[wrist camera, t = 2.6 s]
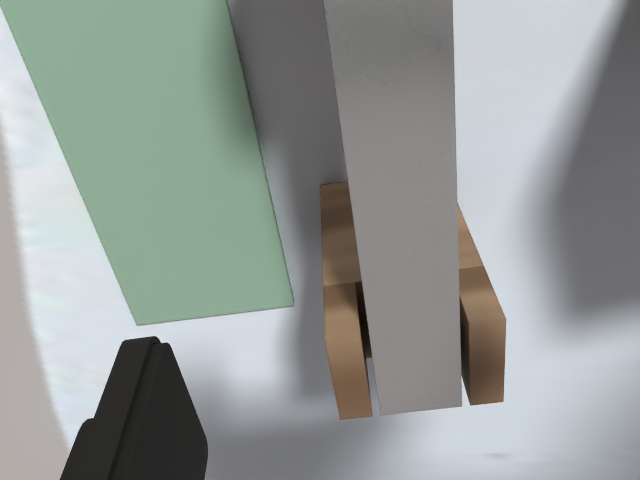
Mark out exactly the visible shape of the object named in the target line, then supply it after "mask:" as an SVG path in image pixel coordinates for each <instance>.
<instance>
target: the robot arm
mask: <svg viewBox="0 0 640 480" xmlns="http://www.w3.org/2000/svg"><path fill="white" fill-rule="evenodd" d="M207 458H208V445H207V440H206V436H205V434H204V431H203V428H202V426H201V423H200V421H199V418H198V416H197V413H196V410H195V408H194V405H193V403H192V400H191V397H190V395H189V392H188V390H187V387H186V384H185V382H184V379H183V377H182V374H181V372H180V369H179V366H178V364H177V361H176V359H175V356H174V353H173V351H172V348H171V346H170V344H169V343H161V342H160V340H159V339H158V338H157V337H156V336H152V337H145V338H137V339H130V340H125V341H123V342H122V344H121V346H120V348H119V351H118V354H117V356H116V359H115V362H114V365H113V367H112V370H111V373H110V375H109V378H108V381H107V383H106V386H105V389H104V392H103V394H102V397H101V400H100V402H99V405H98V408H97V411H96V413H95V416H94V418H91V419H87V420H86V421H85V422H84V423H83V424H82V426H81V428H80V430H79V432H78V434H77V437H76V439H75V442H74V444H73V447H72V449H71V452H70V455H69V457H68V460H67V462H66V465H65V468H64V470H63V473H62V475H61V478H60V480H204V478H205V472H206V465H207Z"/></svg>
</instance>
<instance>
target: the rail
mask: <svg viewBox="0 0 640 480" xmlns="http://www.w3.org/2000/svg"><path fill="white" fill-rule="evenodd" d="M323 2H324V10H325V17H326V24H327V31H328V39H329V46H330V53H331V60H332V68H333V75H334V82H335V89H336V97H337V104H338V111H339V118H340V126H341V133H342V140H343V147H344V155H345V162H346V169H347V176H348V184H349V191H350V198H351V205H352V213H353V220H354V227H355V234H356V242H357V249H358V256H359V263H360V271H361V278H362V285H363V292H364V299H365V307H366V314H367V321H368V328H369V336H370V343H371V350H372V357H373V365H374V372H375V379H376V386H377V394H378V401H379V408H380V415H388V414H397V413H406V412H415V411H425V410H434V409H443V408H452V407H461V406H462V384H461V342H460V299H459V256H458V213H457V170H456V127H455V84H454V42H453V0H323Z"/></svg>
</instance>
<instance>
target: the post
mask: <svg viewBox="0 0 640 480" xmlns="http://www.w3.org/2000/svg"><path fill="white" fill-rule="evenodd" d="M320 194H321V227H322V260H323V293H324V326H325V344H326V349H327V354H328V359H329V365H330V370H331V375H332V380H333V385H334V390H335V395H336V400H337V405H338V411H339V416H340V420H343V419H352V418H361V417H370V416H372V408H371V399H370V390H369V381H368V371H367V362H366V358H371V357H372V350H371V343H370V336H369V328H368V321H367V314H366V307H365V299H364V292H363V285H362V278H361V271H360V263H359V256H358V249H357V242H356V234H355V227H354V220H353V213H352V205H351V198H350V191H349V184H348V181H347V182H340V183H332V184H325V185H320ZM457 213H458V256H459V299H460V342H461V375H462V378H463V382H464V385H465V389H466V392H467V396H468V399H469V403H470V405H479V404H488V403H497V402H503V398H504V368H505V339H506V318H505V316H504V313H503V311H502V308H501V306H500V304H499V301H498V299H497V296H496V294H495V292H494V289H493V287H492V284H491V282H490V280H489V277H488V275H487V272H486V270H485V268H484V265H483V263H482V260H481V258H480V256H479V253H478V251H477V248H476V246H475V244H474V241H473V239H472V236H471V234H470V232H469V229H468V227H467V224H466V222H465V219H464V217H463V215H462V212H461V210H460V207H459V205H458V203H457Z"/></svg>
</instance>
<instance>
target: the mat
mask: <svg viewBox="0 0 640 480" xmlns="http://www.w3.org/2000/svg"><path fill="white" fill-rule="evenodd" d="M0 7H1V9H2V11H3V14H4V16H5V18H6V21H7V23H8V25H9V28H10V30H11V32H12V35H13V37H14V39H15V42H16V44H17V46H18V49H19V51H20V53H21V56H22V58H23V61H24V63H25V65H26V68H27V70H28V72H29V75H30V77H31V79H32V82H33V84H34V86H35V89H36V91H37V93H38V96H39V98H40V100H41V103H42V105H43V107H44V110H45V112H46V114H47V117H48V119H49V121H50V124H51V126H52V128H53V131H54V133H55V136H56V138H57V140H58V143H59V145H60V147H61V150H62V152H63V154H64V157H65V159H66V161H67V164H68V166H69V168H70V171H71V173H72V175H73V178H74V180H75V182H76V185H77V187H78V189H79V192H80V194H81V196H82V199H83V201H84V204H85V206H86V208H87V211H88V213H89V215H90V218H91V220H92V222H93V225H94V227H95V229H96V232H97V234H98V236H99V239H100V241H101V243H102V246H103V248H104V250H105V253H106V255H107V257H108V260H109V262H110V264H111V267H112V269H113V272H114V274H115V276H116V279H117V281H118V283H119V286H120V288H121V290H122V293H123V295H124V297H125V300H126V302H127V304H128V307H129V309H130V311H131V314H132V316H133V318H134V321H135V323H136V325H143V324H151V323H159V322H167V321H175V320H183V319H191V318H199V317H207V316H215V315H223V314H231V313H239V312H247V311H255V310H263V309H271V308H279V307H287V306H294V297H293V293H292V288H291V284H290V279H289V275H288V270H287V266H286V261H285V257H284V252H283V248H282V244H281V239H280V235H279V230H278V226H277V221H276V217H275V212H274V208H273V203H272V199H271V194H270V190H269V185H268V181H267V176H266V172H265V167H264V163H263V158H262V154H261V149H260V145H259V140H258V136H257V131H256V127H255V122H254V118H253V114H252V109H251V105H250V100H249V96H248V91H247V87H246V82H245V78H244V73H243V69H242V64H241V60H240V55H239V51H238V46H237V42H236V37H235V33H234V28H233V24H232V19H231V15H230V10H229V6H228V1H227V0H0Z"/></svg>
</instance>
